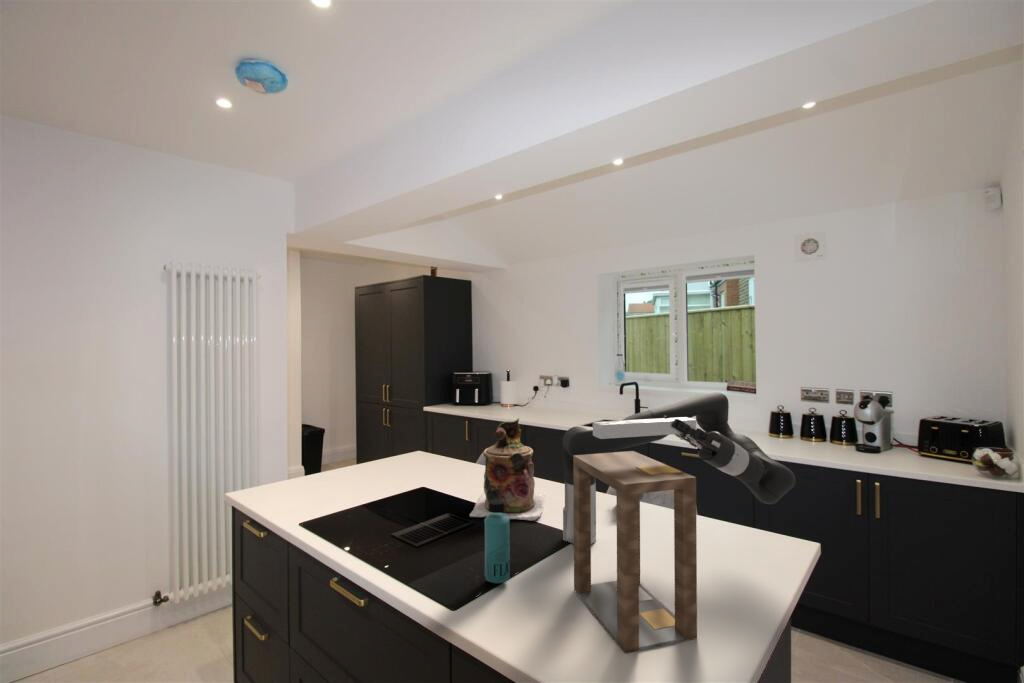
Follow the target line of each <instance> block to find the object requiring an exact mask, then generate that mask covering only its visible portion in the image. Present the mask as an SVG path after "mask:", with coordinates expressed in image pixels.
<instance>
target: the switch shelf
mask: <svg viewBox="0 0 1024 683" xmlns="http://www.w3.org/2000/svg"><path fill="white" fill-rule="evenodd" d="M590 474H591V475H592V476H594V477H596V480H597V479H598V480H599V481H600V482H602V483H604V484H605V485H607V486H608V487H610V488H613V489H614V490H616V491H615V492H616V580H611V581H605V582H604V581H603V582H600V583H592V557H591V556H592V544H591V481H590ZM573 478H574V544H573V590H574V592H575V591H576V592H575V593H576V594H577V596H578V597H579V598H580V599H581V600H582V602H583V603H584V604H585V606H586V607H587V608H588V610H590V612H591V613H592V614H593V615H594V617H595V616H596V617H595V618H596V619H597V621H598V622H599V621H600V622H599V623H600V624H601V625H602V627H603V626H604V627H603V628H604V629H605V630H606V631H608V632H607V633H608V634H609V636H610V637H611V638H612V640H614V642H615V643H616V644H617V645H618V647H619V648H620V649H621V650H622V651H623V653H624V654H629V653H634V652H638V651H643V650H648V649H652V648H657V647H658V648H659V647H663V646H667V645H671V644H676V643H681V642H686V641H691V640H696V639H698V592H697V591H698V583H697V582H698V576H697V573H698V570H697V568H698V567H697V566H698V565H697V564H698V563H697V560H698V559H697V558H698V557H697V556H698V555H697V550H698V549H697V547H698V546H697V545H698V544H697V543H698V542H697V536H698V535H697V476H694V475H691V474H689V473H686V472H684V471H682V470H679V469H677V468H675V467H673V466H670V465H667V464H666V463H663V462H660V461H658V460H656V459H653V458H651V457H649V456H646V455H644V454H641V453H640V452H637V451H634V450H629V451H628V450H627V451H613V452H610V453H599V454H586V455H573ZM663 491H664V492H665V491H673V516H674V517H673V521H674V522H673V528H674V529H673V531H674V533H673V536H674V537H673V539H674V540H673V542H674V544H673V545H674V550H673V552H674V554H673V557H674V562H673V563H674V564H673V565H674V612H672V611H671V610H670V609H669V608H668V607H667V606H666V605H664V604H663V602H661V601H660V600H659V599H657V597H655V595H654V594H652V593H651V592H650V591H649V590H648V589H647V588H646V587H645V586H643V585H642V583H641V501H640V500H641V497H640V496H641V494H646V493H657V492H663Z"/></svg>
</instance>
